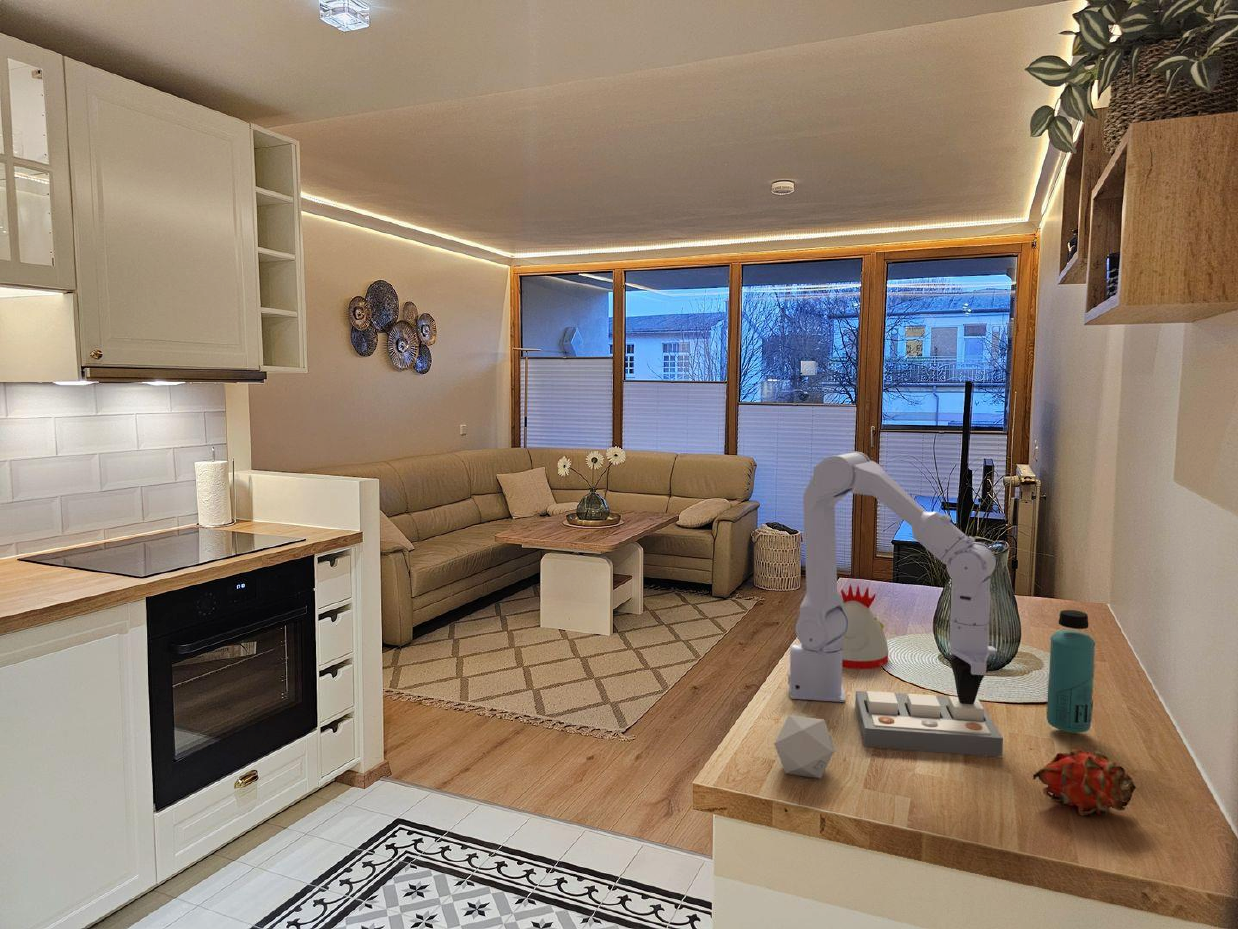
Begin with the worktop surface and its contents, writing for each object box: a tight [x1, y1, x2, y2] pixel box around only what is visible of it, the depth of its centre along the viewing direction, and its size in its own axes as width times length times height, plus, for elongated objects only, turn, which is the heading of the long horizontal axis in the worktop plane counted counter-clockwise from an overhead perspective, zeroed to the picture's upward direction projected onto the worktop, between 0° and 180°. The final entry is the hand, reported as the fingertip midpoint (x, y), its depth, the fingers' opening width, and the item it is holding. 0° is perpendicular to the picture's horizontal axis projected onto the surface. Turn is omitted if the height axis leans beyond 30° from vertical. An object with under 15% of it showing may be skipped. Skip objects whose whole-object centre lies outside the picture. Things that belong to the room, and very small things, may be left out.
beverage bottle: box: [1045, 609, 1096, 734], centre depth 130 cm, size 6×7×20 cm
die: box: [773, 714, 836, 780], centre depth 119 cm, size 8×9×10 cm
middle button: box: [906, 693, 941, 718], centre depth 133 cm, size 4×4×2 cm
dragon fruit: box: [1032, 748, 1137, 817], centre depth 108 cm, size 8×8×12 cm
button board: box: [854, 690, 1004, 757], centre depth 132 cm, size 20×15×3 cm
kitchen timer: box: [840, 584, 889, 670], centre depth 165 cm, size 14×14×15 cm
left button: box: [866, 690, 898, 715], centre depth 134 cm, size 4×4×2 cm
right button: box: [948, 695, 985, 721], centre depth 132 cm, size 4×4×2 cm
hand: (966, 702), depth 131 cm, fingers closed
